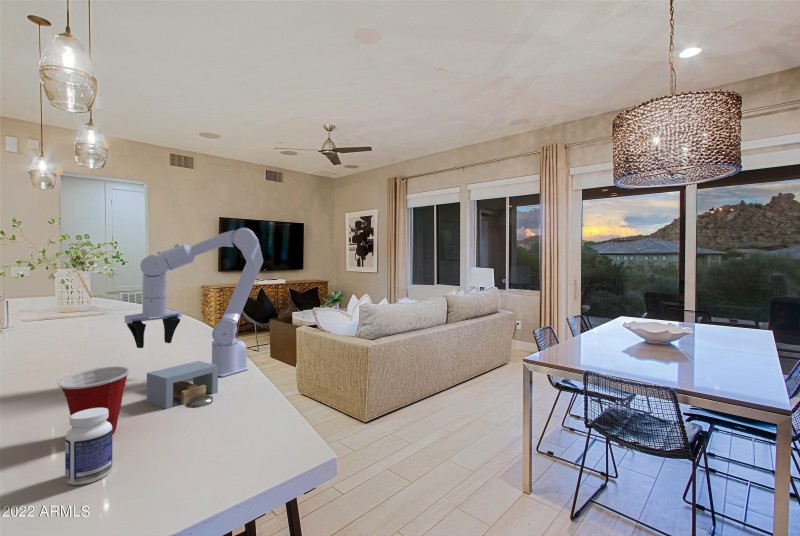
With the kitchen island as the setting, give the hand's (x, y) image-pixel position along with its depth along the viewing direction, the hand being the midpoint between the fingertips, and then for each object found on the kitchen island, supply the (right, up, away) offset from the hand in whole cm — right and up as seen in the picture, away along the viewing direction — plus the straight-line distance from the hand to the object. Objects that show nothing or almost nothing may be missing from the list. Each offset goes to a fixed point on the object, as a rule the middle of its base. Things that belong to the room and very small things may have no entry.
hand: (154, 345), depth 109 cm
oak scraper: (+13, -10, -13) cm, 20 cm away
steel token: (+23, -10, -18) cm, 31 cm away
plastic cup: (+12, -10, -36) cm, 39 cm away
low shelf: (+17, -10, -15) cm, 24 cm away
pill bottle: (+22, -11, -49) cm, 55 cm away
